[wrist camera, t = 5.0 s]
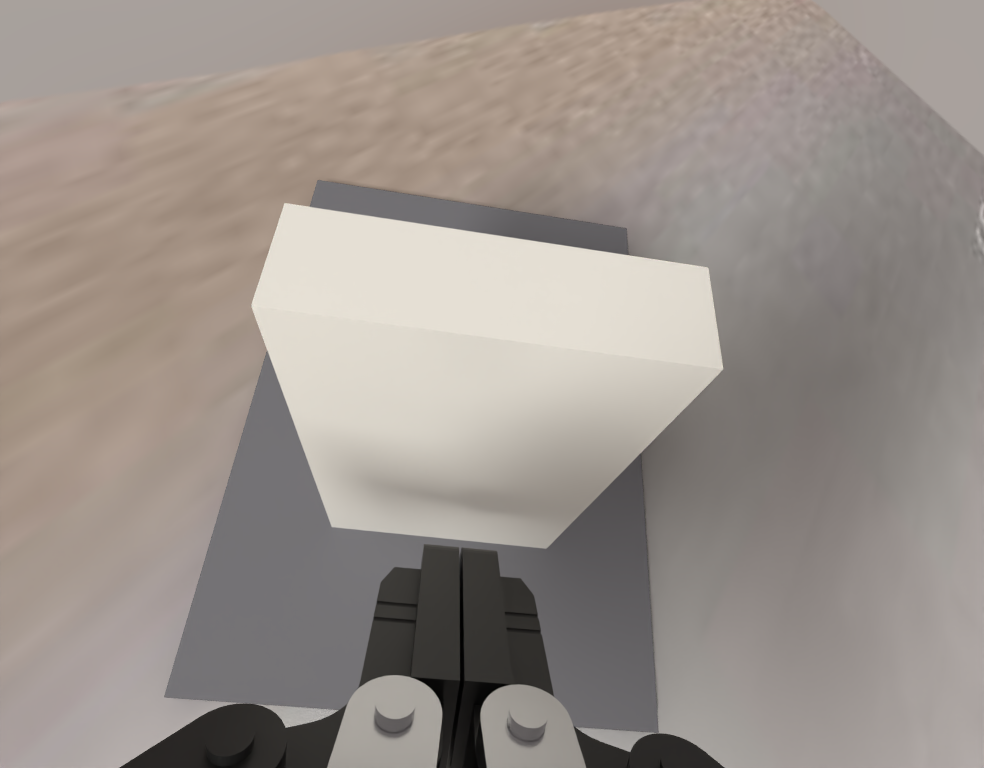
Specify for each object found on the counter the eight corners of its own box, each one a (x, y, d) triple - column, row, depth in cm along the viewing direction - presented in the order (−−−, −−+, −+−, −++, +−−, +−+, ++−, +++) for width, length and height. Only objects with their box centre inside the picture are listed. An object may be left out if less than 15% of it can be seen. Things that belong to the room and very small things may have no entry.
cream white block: (344, 463, 20) (286, 196, 9) (547, 486, 20) (707, 260, 10) (331, 526, 19) (251, 305, 8) (546, 548, 19) (723, 368, 9)
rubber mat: (319, 190, 26) (317, 180, 26) (621, 237, 27) (626, 228, 27) (171, 697, 16) (163, 697, 16) (650, 731, 18) (658, 732, 17)
